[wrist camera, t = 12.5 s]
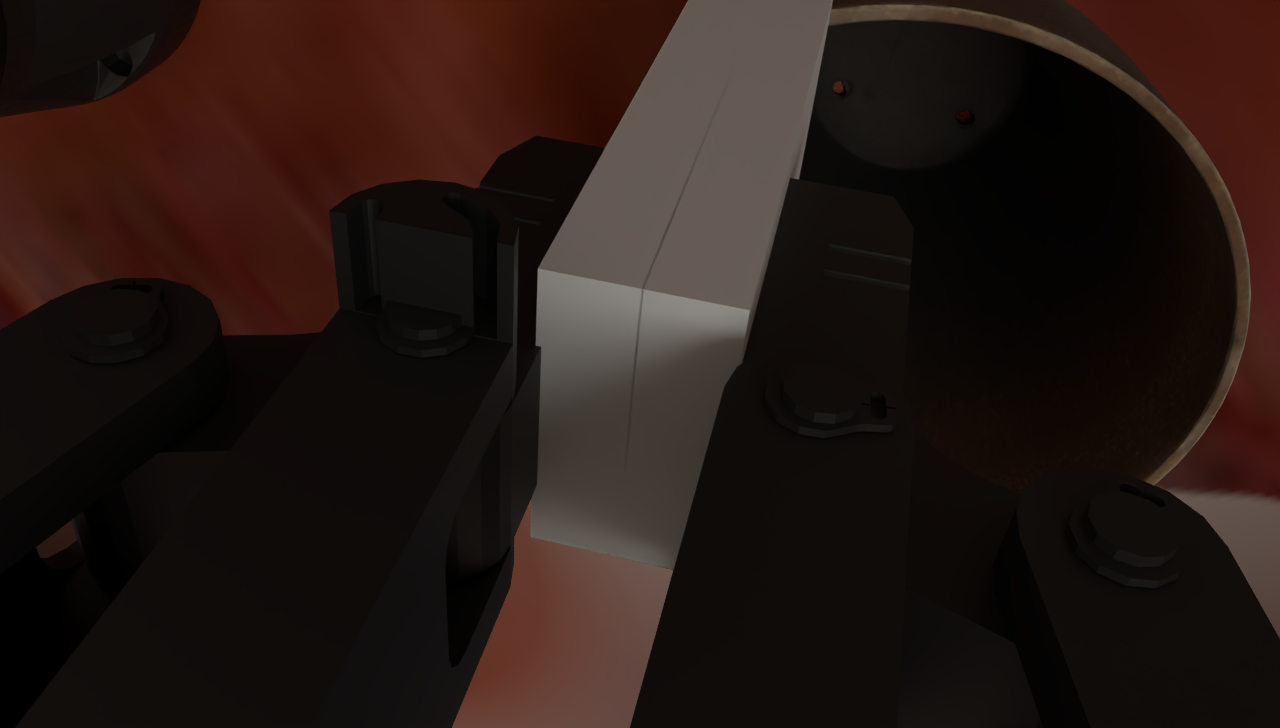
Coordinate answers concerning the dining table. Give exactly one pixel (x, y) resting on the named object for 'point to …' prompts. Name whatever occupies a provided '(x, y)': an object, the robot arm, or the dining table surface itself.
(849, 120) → the plant pot
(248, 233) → the dining table surface
